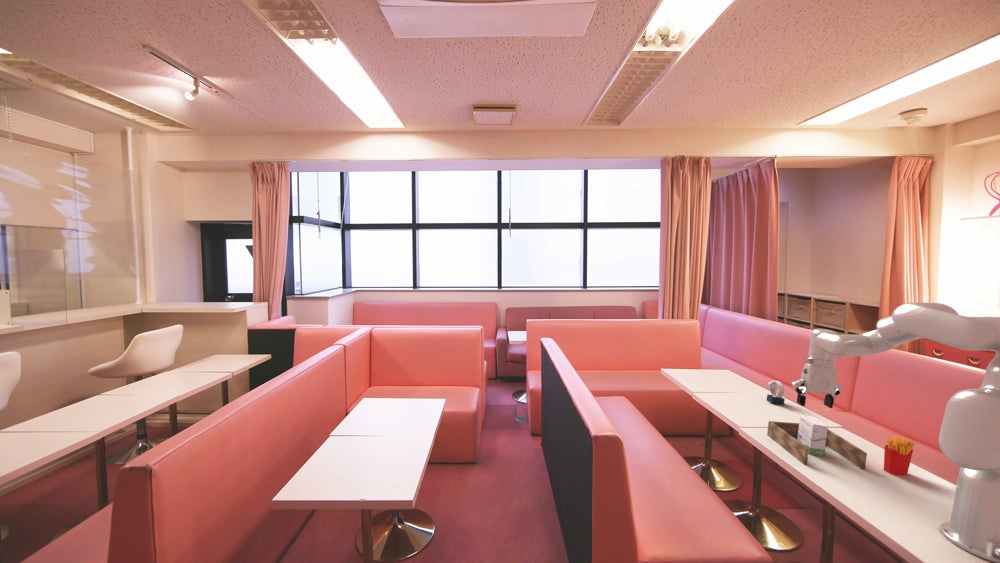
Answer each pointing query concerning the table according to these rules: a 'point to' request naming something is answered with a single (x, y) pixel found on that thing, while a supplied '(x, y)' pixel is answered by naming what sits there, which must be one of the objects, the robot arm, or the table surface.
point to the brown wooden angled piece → (786, 439)
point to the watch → (773, 397)
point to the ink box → (812, 434)
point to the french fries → (898, 455)
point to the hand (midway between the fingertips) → (814, 405)
